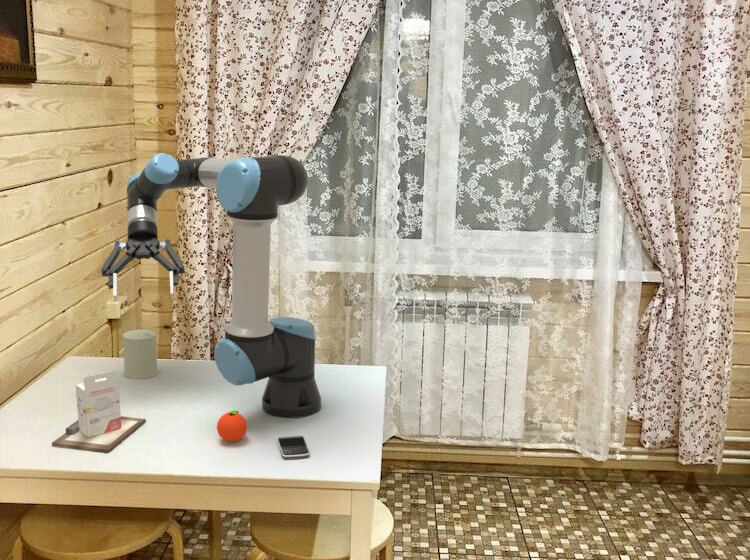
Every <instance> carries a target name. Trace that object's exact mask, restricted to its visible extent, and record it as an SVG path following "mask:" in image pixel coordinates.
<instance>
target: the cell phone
mask: <svg viewBox="0 0 750 560" xmlns="http://www.w3.org/2000/svg"><path fill="white" fill-rule="evenodd" d="M276 439H277V444H278V448H279V451H280V453H281V457H282V458H283V460H297V459H298V460H300V458H302V459H308V458H309V457H310V453H311V452H310V450H309V448H308V444H307V443H306V440H305V437H304V436H303V435H295V436H281V437H279V436H278V437H277V438H276ZM307 457H308V458H307Z"/></svg>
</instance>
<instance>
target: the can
mask: <svg viewBox="0 0 750 560" xmlns="http://www.w3.org/2000/svg"><path fill="white" fill-rule="evenodd" d="M122 344H123V364H124V366H123V367H124V372H123V373H124V374H123V375H124V377H126V378H127V379H132V380H135V379H136V380H142V379H144V378H145V379H149V378H153V377H156V376H157V375H158V374H159V369H158V355H157V352H158V351H157V332H156V331H154V330H152V329H151V330H150V329H134V330H128V331H125V332H124V333H123V334H122ZM145 379H144V380H145Z"/></svg>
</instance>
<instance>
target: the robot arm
mask: <svg viewBox="0 0 750 560" xmlns="http://www.w3.org/2000/svg"><path fill="white" fill-rule="evenodd" d="M145 164H146V165H145V166H144V168H143V170H142V171H141V172H138V173H135V174H134V175H131V176H130V177H129V178H128V180H127V186H126V198H127V199H126V202H127V215H126V216H127V241H126V242H120V240H115V242H114V247H113V249H112V250H111V252H110V254H109V255H108V257H107V259H106V260H105V262H104V264H103V265H102V266H101V268H100V270H101V276H102V277H108V287H109V289H112V291H113V293H112V294H113V295H112V297H113V301H114V302H118V274H119V273H120V272H121V271H122V270H123V269H124V268H126V267H127V265H128V264H129V263H130V262H133V260H135V259H136V260H141V259H146V260H150V259H151V258H152V259H153V260H155V261H157V263H159V264H160V265H161V266H162V267H163V268H164V269H166V271H167V272H168V273H169V287H170V290H169V291H170V292H169V293H170V300H171V299H173V300H174V299H175V298H174V297H175V296H174V287H177V286H178V284H179V281H178V279H179V275H180V274H181V275H182V274H185V265H184V263H183V262H182V261H181V259H180V257H179V256H178V254H177V253H176V251H175V250H174V249H173V247H172V244H171V240H170V239H169V238H166V239H165V241H159V239H158V238H159V236H158V235H159V233H158V206H157V205H158V201H159V199H160V198H161V197H162V196H163V194H164V193H165V192H166V191H167V190H174V189H175V190H176V189H185V188H197V187H198V188H199V187H200V188H214V189H215V192H216V198H218V199H219V200H218V203H219V205H220V207H222V208H223V210H225V211H226V217H227V218H228V219H229V220H230V221H231V222H232V224H233V225H232V226H233V227H232V228H233V229H232V230H233V231H232V233H233V234H232V271H231V272H232V275H231V276H232V279H231V287H232V288H231V321H230V322H229V323H227V324H226V325H225V328H224V338H222V339H220V340H219V341H218V342H216V345H215V347H214V351H213V353H214V361H215V364H216V367H217V369H218V371H219V372H220V374H221V376H222V377H223V378H224V379H225V380H226V382H228V383H230V384H231V385H233V386H243V385H250V384H253V383H254V382H259V381H260V380H265V379H267V378H268V380H267V383H266V385H265V388H264V391H263V395H262V397H261V407H262V408H261V409H262V410H263V411H264V412H265V413H267V414H269V415H271V416H275V417H281V418H301V417H307V416H310V415H313V414H316V413H317V412H319V409H321V408H322V397H321V396H322V395H321V394H320V390H319V387H318V385H317V382H316V378H315V369H316V367H315V365H316V361H315V360H316V334H315V333H316V332H315V326H314V324H313V323H311V322H310V321H308V320H306V319H302V318H296V317H288V316H287V317H284V316H283V317H282V316H281V317H280V316H278V317H277V316H276V317H272V318H270V319H269V299H270V298H269V294H270V293H269V292H270V290H269V289H270V265H271V264H270V262H271V260H270V258H271V252H270V251H271V233H272V232H271V231H272V230H271V228H272V224H273V223H274V222H275V221H276V220H277V219H278V216H279V215H278V213H279V211H278V210H279V209H278V208H279V207H281V206H285V205H289V204H293V203H295V202H296V201H297V200H299V199H300V198H301V197H302V196H303V195H304V193H306V191H307V188H308V181H309V178H308V172H307V169H306V168H305V166H304V165H303V164H302V162H300V160H298V159H297V158H295V157H293V156H290V155H283V154H282V155H280V154H278V155H270V156H269V155H268V156H248V157H247V156H246V157H241V158H237V159H221V158H220V159H219V158H218V159H217V158H214V157H205V156H204V157H199V158H188V159H186V158H185V159H176V158H175V157H173V156H172V155H171V154H166V153H165V152H160V153H156V154H155V155H153V156H152V158H150V160H149V161H147V163H145ZM160 248H161V249H162V250H164V251H166V254H167V255H168V257H169V258H170V260H171V261H170V260H169V259H168V258H166V257H165V256H164V255H163V254H162V253H161V252H160ZM124 249H126V250H127V251H126V252H125V254H124V255H123V256H122V257H120V259H119V260H118V261H117V259H118V258H119V256H120V254H121V253H122V252H123V251H124ZM116 261H117V262H116ZM115 262H116V263H115Z"/></svg>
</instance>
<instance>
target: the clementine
mask: <svg viewBox="0 0 750 560" xmlns="http://www.w3.org/2000/svg"><path fill="white" fill-rule="evenodd" d="M216 430H217V434H218V436H219V437H220V438H221V439H222V440H224V441H225V442H229V443H236V442H238V441H240V440H242V439H243V437H244V436H245V435H246V433H247V430H248V424H247V420H246V419H245V417H244V416H243V415H242V414H240V413H239V410H230V411H227V412H225V413H224V414H222V415H221V416H220V418H219V419H218V421H217V423H216Z"/></svg>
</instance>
